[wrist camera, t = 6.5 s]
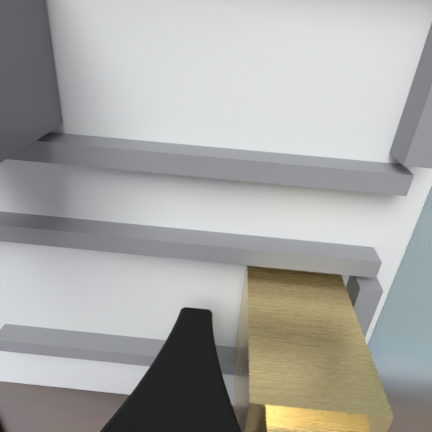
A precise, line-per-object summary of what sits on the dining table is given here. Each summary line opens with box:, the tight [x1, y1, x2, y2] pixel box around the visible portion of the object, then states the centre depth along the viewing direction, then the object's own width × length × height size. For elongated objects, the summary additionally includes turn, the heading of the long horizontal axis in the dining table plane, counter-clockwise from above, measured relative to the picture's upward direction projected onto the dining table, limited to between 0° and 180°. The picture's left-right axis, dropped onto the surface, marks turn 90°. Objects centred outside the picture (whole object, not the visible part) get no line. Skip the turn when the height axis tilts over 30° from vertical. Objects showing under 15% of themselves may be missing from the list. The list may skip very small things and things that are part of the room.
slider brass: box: [234, 266, 394, 432], centre depth 10 cm, size 4×3×6 cm
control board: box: [0, 0, 432, 406], centre depth 11 cm, size 22×16×2 cm
